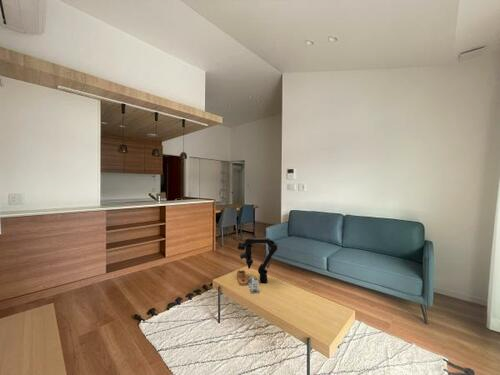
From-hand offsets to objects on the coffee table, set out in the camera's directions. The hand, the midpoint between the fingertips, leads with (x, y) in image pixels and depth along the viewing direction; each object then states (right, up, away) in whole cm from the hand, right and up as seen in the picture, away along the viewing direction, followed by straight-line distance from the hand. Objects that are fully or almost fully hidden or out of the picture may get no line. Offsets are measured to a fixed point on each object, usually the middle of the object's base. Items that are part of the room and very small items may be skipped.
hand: (248, 266), depth 201 cm
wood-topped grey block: (+6, -13, -22) cm, 26 cm away
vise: (+4, -13, -11) cm, 17 cm away
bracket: (-6, -13, -4) cm, 14 cm away
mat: (+6, -13, -22) cm, 26 cm away
